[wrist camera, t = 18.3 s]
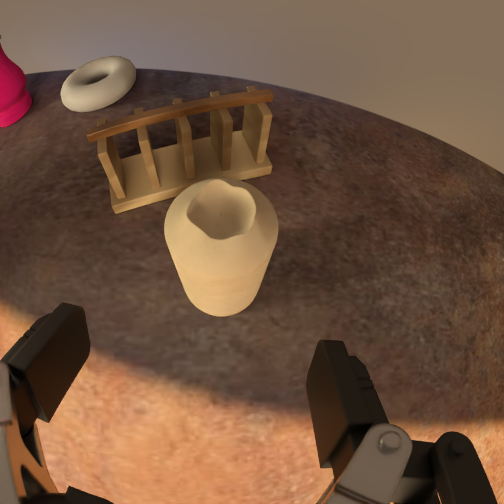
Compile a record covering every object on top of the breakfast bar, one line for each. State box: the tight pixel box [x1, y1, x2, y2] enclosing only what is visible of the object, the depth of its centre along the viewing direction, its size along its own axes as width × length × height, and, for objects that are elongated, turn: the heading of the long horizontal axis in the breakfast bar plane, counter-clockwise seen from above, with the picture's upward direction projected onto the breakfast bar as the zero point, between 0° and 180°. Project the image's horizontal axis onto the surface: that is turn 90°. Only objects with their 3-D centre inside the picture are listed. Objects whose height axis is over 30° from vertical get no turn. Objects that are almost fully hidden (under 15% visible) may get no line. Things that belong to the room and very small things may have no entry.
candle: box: [164, 178, 278, 316], centre depth 18 cm, size 6×6×10 cm
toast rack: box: [87, 86, 274, 214], centre depth 23 cm, size 14×5×8 cm, turn 110°
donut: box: [60, 56, 136, 112], centre depth 29 cm, size 10×4×10 cm
